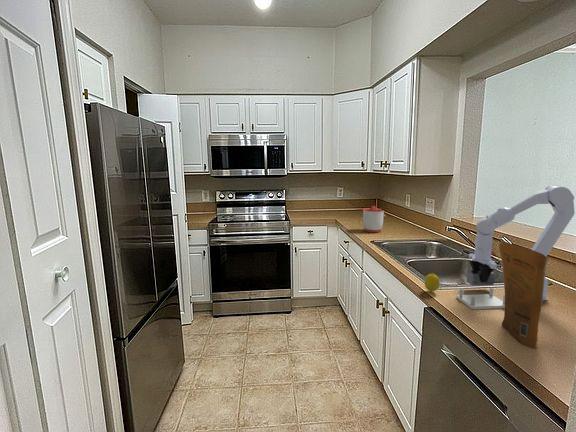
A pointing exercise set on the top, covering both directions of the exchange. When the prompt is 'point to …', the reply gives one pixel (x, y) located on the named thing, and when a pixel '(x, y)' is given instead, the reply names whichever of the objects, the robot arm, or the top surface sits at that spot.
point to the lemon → (432, 282)
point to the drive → (478, 278)
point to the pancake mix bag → (522, 291)
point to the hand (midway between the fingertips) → (480, 279)
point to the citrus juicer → (373, 219)
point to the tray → (481, 300)
